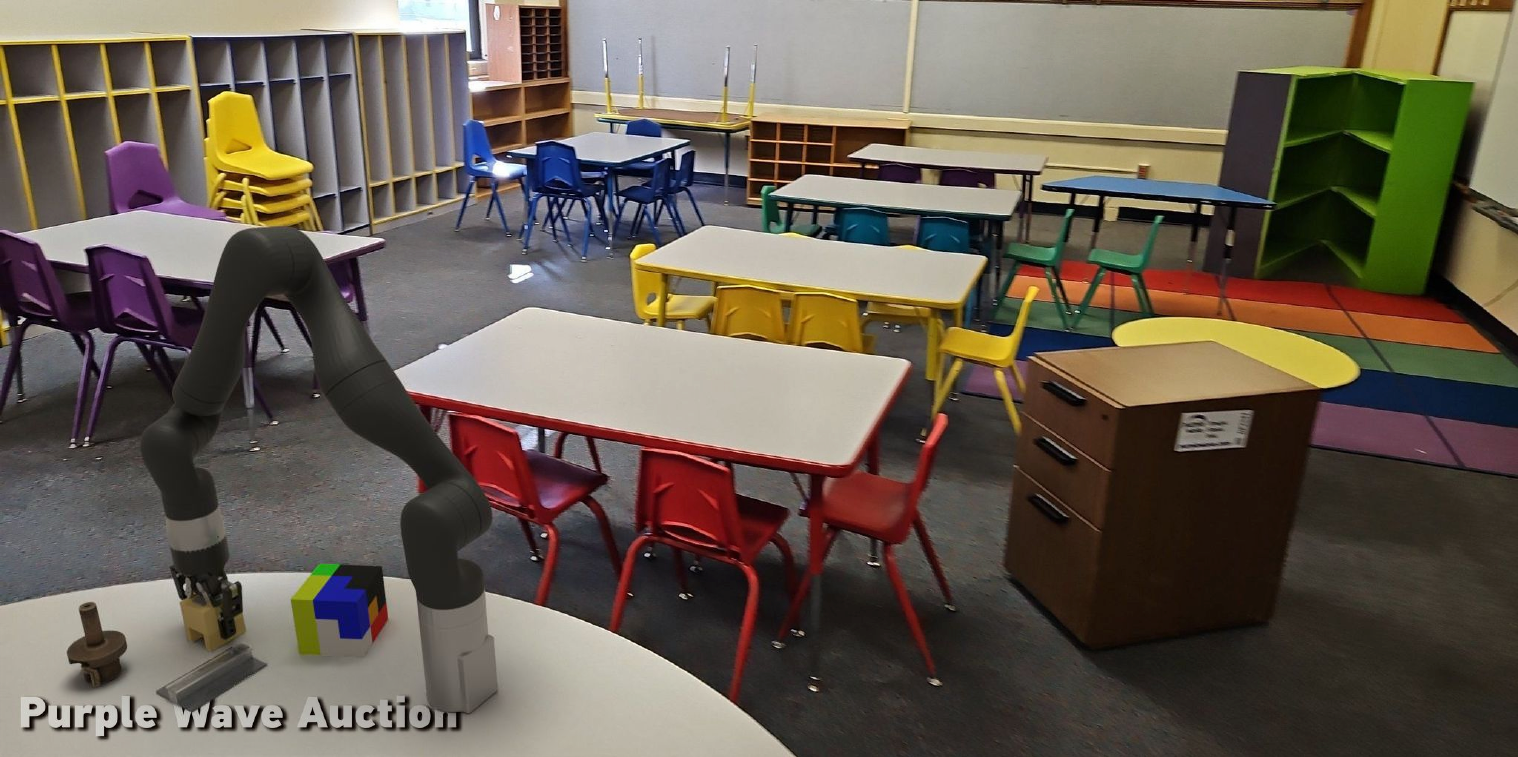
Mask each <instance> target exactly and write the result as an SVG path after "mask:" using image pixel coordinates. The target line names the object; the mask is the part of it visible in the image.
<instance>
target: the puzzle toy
mask: <svg viewBox="0 0 1518 757" xmlns="http://www.w3.org/2000/svg"><path fill="white" fill-rule="evenodd" d="M383 572H384V571H383V566H381V565H380V566H379V565H365V564H364V565H362V564H361V565H359V564H358V565H357V564H336V563H335V564H334V563H333V564H332V563H319V564H318V565H317V566H316V567H315V568H314V570H313V571H312V572H311V574H309V576H308V577H307V578H306V580H305V581H304V582H303V583H302V584H301V586H300V587H299V588H298V589H297V591H296V592H295V593H294V594H293V595H292V596H291V598H290V605H291V612H292V618H293V623H294V624H293V625H294V630H295V637H296V642H297V647H298V654H299V655H300V656H301V655H304V656H325V657H326V656H327V657H348V658H349V657H352V658H353V657H355V658H365V657H366V655H367V653H368V652H369V650H370V649H371V647H372V646H373V644H374V643H375V641H376V640H377V638H378V637H379V634H380V632H382V630H383V628H384V626H385V625H386V623H387V622H388V620H389V614H388V613H389V612H388V604H387V595H386V589H385V581H384V573H383Z"/></svg>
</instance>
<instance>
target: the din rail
mask: <svg viewBox="0 0 1518 757" xmlns="http://www.w3.org/2000/svg"><path fill="white" fill-rule="evenodd" d="M253 650H254V648H253V647H252V646H250V645H248V644H245V643H243V642H240V643H238V644H237V645H235V646H233V647H232V646H230V647H229V648H228V649H225V650H224V651H222V652H220V653H218V654H217V655H215V656H214V657H212V658H210V659H209V660H207V661H205V662H203V663H201V664H200V665H199V666H197V667H195V668H193V669H191V670H190V671H188V672H186V673H184V674H183V675H181V676H179V677H177V678H175V679H174V680H172V681H171V682H169V683H167V684H166V685H164V686H162V687H161V688H159V689H156V690H155V694H157V695H159V696H160V697H163V698H164V699H166V700H168V701H169V702H172V703H174V704H176V705H177V706H179V707H181V708H183V709H185V710H186V711H189V712H191V713H193V712H195V711H196V710H198V709H200V708H201V707H203V706H204V705H206V704H208V703H210V702H211V701H213V700H215V699H216V698H218V697H219V696H220V694H221V695H222V694H224V693H225V692H227V691H229V690H230V689H232V688H234V687H235V686H237V685H239V684H240V683H241V681H242V680H243V681H244V679H245V678H246V679H248V678H249V677H248V676H250V675H251V676H253V675H254V674H256V673H257V671H258V672H259V671H261V670H262V669H264V668H266V667H267V666H268V664H267V663H266V662H264V661H262V660H260V659H258V658H256V657H254V655H253ZM255 672H256V673H255ZM252 674H253V675H252ZM251 676H250V677H251ZM247 677H248V678H247ZM246 679H245V680H246ZM243 681H242V682H243ZM239 682H240V683H239ZM234 685H235V686H234ZM212 699H213V700H212ZM207 702H208V703H207Z"/></svg>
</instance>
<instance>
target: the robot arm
mask: <svg viewBox="0 0 1518 757" xmlns="http://www.w3.org/2000/svg"><path fill="white" fill-rule="evenodd" d="M280 295H283V296H284V297H285V298H286V299H287V300H288V302H289V303H290V304H291V305H292V307H293V308H294V310H295V311H296V312H297V314H298V315H299V317H300V318H301V319H302V321H303V323H304V325H305V326H306V328H307V331H308V333H309V334H308V335H309V338H310V343H311V348H312V358H313V366H314V374H315V378H316V381H317V384H318V386H319V388H320V390H321V392H322V394H323V395H324V398H326V400H327V401H328V403H329V405H330V406H331V408H333V410H334V411H335V414H336V415H337V416H338V417H339V419H340V420H341V421H342V423H343V424H344V425H345V426H346V427H347V428H348V429H349V430H351V431H352V432H353V433H354V434H355V435H357V436H359V437H361V438H362V439H364V440H365V441H367V442H370V444H373V445H374V446H377V447H379V448H381V449H383V450H385V451H387V452H389V453H391V454H393V455H394V456H395V457H397V458H399V460H401V461H403V462H404V463H405V464H406V465H407V466H409V467H410V468H411V469H412V470H413V472H414V473H415V474H416V475H417V477H418V478H419V479H420V480H421V482H422V483H423V484H424V485H425V487H426V489H427V490H425V491H424V492H421V493H419V495H417V496H415V497H413V498H412V499H409V501H407V502H406V503H405V504H404V506H403V508H402V509H401V514H400V519H399V520H400V526H399V527H400V534H401V539H402V540H401V541H402V545H403V546H402V547H403V551H404V558H405V563H406V564H405V565H406V569H407V574H408V577H409V579H410V581H411V583H412V585H413V588H414V591H415V597H416V604H417V606H416V607H417V615H418V616H417V617H418V625H419V627H418V628H419V633H420V634H419V635H420V645H421V653H422V654H421V655H422V663H423V665H422V666H423V671H424V672H423V673H424V682H425V691H426V698H427V699H426V700H427V701H428V703H429V705H430V706H432V708H434V709H436V710H439V711H441V712H446V713H447V712H448V713H456V712H457V713H458V712H461V713H462V712H463V713H466V714H470V713H472V712H473V711H474V710H476V709H477V708H478V707H479V706H480V705H482V704H483V703H484V702H485V701H487V699H489V698H490V697H491V696H493V695H494V694H496V692H498V690H499V687H498V685H499V684H498V674H497V673H498V672H497V660H496V648H495V646H496V645H495V637H494V636H493V635H491V634H489V627H488V626H489V624H488V614H487V612H488V611H487V601H486V600H487V598H486V586H485V584H486V583H485V574H484V571H483V568H482V567H481V566H480V565H479V564H477V563H476V562H474V561H472V560H469V559H466V558H460V557H459V556H458V555H459V553H458V552H459V551H460V550H462V549H463V548H465V547H466V546H467V545H469V544H471V543H472V542H474V541H475V540H477V539H478V538H480V537H482V535H484V534H485V533H486V532H488V530H489V529H490V528H491V526H492V523H493V509H492V506H491V503H490V500H489V498H488V497H487V495H486V493H485V491H484V490H483V488H482V487H481V485H480V484H479V483H478V481H477V480H476V479H475V478H474V477H473V476H472V474H471V473H470V472H469V470H467V468H466V467H465V466H464V465H463V464H462V462H461V461H460V460H459V459H458V457H457V456H456V455H455V454H454V453H453V452H452V451H451V449H450V448H449V447H448V446H447V444H446V443H445V442H444V441H443V440H442V438H441V437H440V436H439V434H438V433H437V432H436V431H435V429H434V428H433V427H432V425H431V424H430V423H429V421H428V420H427V418H426V417H425V415H424V414H423V412H422V411H421V410H420V409H419V407H418V405H417V404H416V403H415V401H414V400H413V398H412V397H411V395H410V394H409V392H408V391H407V390H406V388H405V386H404V385H403V382H402V381H401V380H400V378H399V377H398V375H397V373H396V372H395V370H394V369H393V368H392V367H391V365H390V364H389V361H387V359H386V358H385V356H384V355H383V354H382V352H381V351H380V349H379V348H378V346H377V345H376V344H375V342H374V341H373V340H372V339H371V337H370V336H369V334H368V333H367V331H366V329H365V328H364V325H363V324H362V322H360V320H359V318H358V317H357V315H356V314H355V312H354V311H353V309H352V308H351V306H350V305H349V303H348V301H347V300H346V298H345V296H344V294H343V293H342V291H341V289H340V287H339V286H338V284H337V282H336V279H335V278H334V276H333V274H332V272H331V270H330V269H329V267H328V265H327V263H326V261H325V259H324V258H323V256H322V254H321V252H320V251H319V249H318V247H317V246H316V244H315V243H314V242H313V241H312V239H311V238H310V237H309V236H308V235H307V234H306V233H304V232H303V231H302V230H300V229H298V228H295V227H292V226H285V225H282V226H280V225H279V226H265V227H263V226H262V227H250V228H245V229H242V230H241V229H240V230H239V231H237V232H235V233H234V234H233V235H232V236H230V238H229V239H228V240H227V242H226V243H225V246H224V248H223V249H222V253H221V255H220V259H219V261H218V265H217V268H216V272H215V274H214V279H213V282H212V286H211V290H210V294H209V298H208V300H207V304H206V307H205V311H204V314H203V318H202V322H201V325H200V328H199V330H198V331H199V332H198V333H197V337H196V339H195V341H194V343H193V346H192V348H191V350H190V352H189V354H188V356H187V357H186V360H185V362H184V364H183V365H182V368H181V370H180V372H179V373H178V375H177V378H176V379H175V382H174V384H173V387H172V390H171V392H172V393H171V396H172V397H171V398H172V400H173V401H174V403H173V405H172V406H171V407H170V409H169V410H168V411H167V413H165V414H164V415H162V416H161V417H160V418H159V419H157V420H155V421H154V422H152V423H151V424H150V425H149V426H147V427H146V428H145V429H144V431H143V432H142V434H141V438H140V442H139V443H140V444H139V450H140V456H141V459H142V462H143V463H144V465H145V468H147V471H148V472H149V474H150V476H151V478H152V480H153V482H154V483H155V485H156V487H157V488H158V490H159V491H160V498H161V501H162V506H163V509H164V510H163V511H164V516H165V529H166V536H167V541H168V545H169V550H170V554H171V559H172V563H173V564H171V565H170V566H169V570H170V573H171V574H170V575H171V576H172V580H173V582H174V586H175V588H176V592H177V595H178V597H179V599H180V600H181V601H182V600H184V599H186V598H188V597H189V598H190V599H191V598H193V597H195V596H196V595H202V596H203V597H204V599H205V601H206V603H207V605H208V607H210V608H214V609H215V614H216V616H217V618H218V619H217V621H218V626H219V631H220V636H221V638H222V639H224V640H226V639H228V638H230V637H232V636H233V635H235V634H236V626H235V620H234V617H235V616H237V615H239V614H241V613H243V614H244V606H243V603H244V602H243V585H242V583H241V582H240V581H239V580H237V581H235V582H233V583H232V582H231V581H229V580H228V579H229V578H228V574H227V573H226V570H225V566H226V564H227V563H228V561H229V560H230V557H231V556H230V555H231V554H230V550H229V549H230V548H229V544H228V537H227V533H226V527H225V523H224V518H223V516H224V515H223V514H222V511H221V509H220V505H219V501H218V494H217V490H216V484H215V480H214V478H213V476H212V474H211V472H210V471H209V470H207V469H206V468H203V467H197V466H195V463H194V457H195V456H196V455H198V454H199V453H200V452H201V451H202V450H203V449H205V448H206V447H207V446H208V445H209V444H210V442H211V441H212V440H213V438H214V436H215V434H216V433H217V432H218V428H219V426H220V423H221V419H222V416H223V412H224V407H225V405H226V404H227V401H228V400H229V399H230V396H231V394H232V393H233V392H234V389H235V387H236V385H237V383H238V381H239V380H240V377H241V375H242V373H243V370H244V367H245V363H246V340H245V338H246V337H245V335H246V329H247V325H248V323H249V321H250V318H251V317H252V316H253V314H254V312H255V311H256V309H257V308H258V306H259V305H260V304H262V303H261V302H263V301H264V299H265V298H266V297H274V296H280ZM184 586H185V589H184ZM220 594H221V596H222V597H220V598H218V599H216V600H215V601H214V600H213V598H214V597H216V596H218V595H220ZM222 603H223V611H222V610H221V608H220V604H222ZM234 606H235V607H234Z"/></svg>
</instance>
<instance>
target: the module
mask: <svg viewBox="0 0 1518 757" xmlns="http://www.w3.org/2000/svg"><path fill="white" fill-rule="evenodd" d="M220 597H222V596H221V594H220V595H218V596H216V597H214V598H213V600H214V601H215V600H216V599H218V598H220ZM179 606H180V611H181V615H182V621H183V625H184V629H185V631H184V632H185V634H186V639H187V641H188V642H190V643H194V642H195V641H197V640H200V639H201V638H203V639H204V644H205V649H206V651H208V652H213V651H215V650H216V649H218V648H219V647H222V646H223V645H225V644H227V643H228V642H230V641H232V640H234V639H235V638H237V637H239V636H241V635H242V634H244V633H245V632H247V629H246V623H245V619H244V612H243V613H241V614H239V615H237V616H235V617H234V620H235V626H236V634H235V635H233V636H232V637H230V638H228V639H226V640H224V639H222V638H221V636H220V631H219V626H218V621H217V619H218V618H217V616H216V614H215V609H214V608H210V607H208V605H207V603H206V601H205V599H204V597H203V596H202V595H196V596H195V597H193V598H191V599H190V598H189V597H188V598H186V599H184V600H181V601H179ZM234 607H235V606H234ZM220 608H221V610H222V611H223V603H222V604H220Z"/></svg>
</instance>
